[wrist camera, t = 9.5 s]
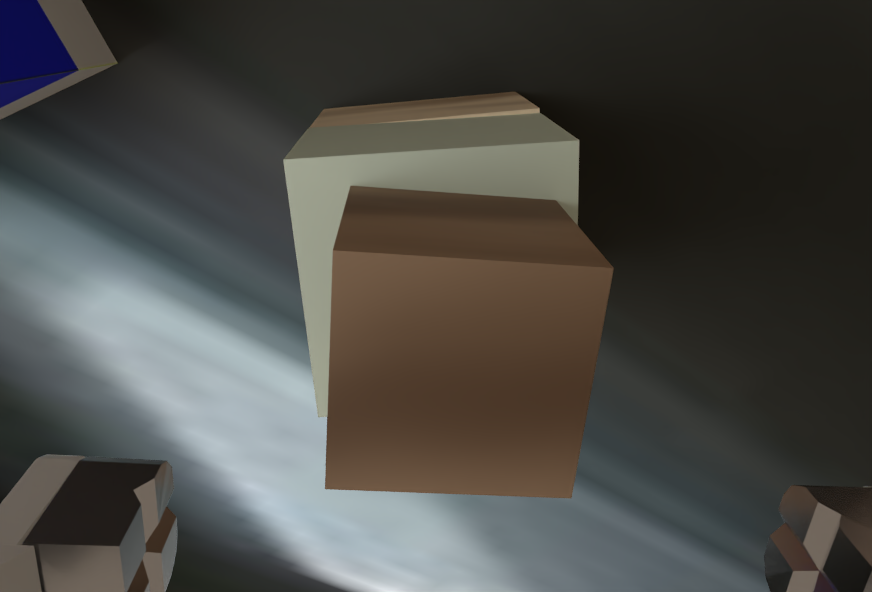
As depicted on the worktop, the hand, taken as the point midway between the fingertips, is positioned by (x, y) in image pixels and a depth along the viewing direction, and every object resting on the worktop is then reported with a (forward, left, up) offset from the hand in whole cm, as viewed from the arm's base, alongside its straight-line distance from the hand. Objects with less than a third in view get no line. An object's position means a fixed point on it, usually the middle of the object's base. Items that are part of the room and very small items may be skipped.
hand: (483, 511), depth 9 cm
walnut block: (0, 0, -9) cm, 9 cm away
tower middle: (0, 0, -14) cm, 14 cm away
